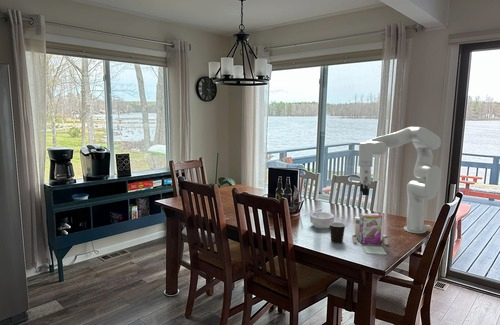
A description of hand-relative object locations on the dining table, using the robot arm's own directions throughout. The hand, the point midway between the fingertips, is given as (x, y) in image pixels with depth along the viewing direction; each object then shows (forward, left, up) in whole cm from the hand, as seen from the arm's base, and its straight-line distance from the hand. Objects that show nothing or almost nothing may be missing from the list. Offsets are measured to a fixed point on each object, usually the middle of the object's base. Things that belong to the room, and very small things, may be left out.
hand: (364, 193), depth 194 cm
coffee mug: (+16, +7, -28) cm, 33 cm away
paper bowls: (+22, -21, -28) cm, 41 cm away
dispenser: (-3, +2, -27) cm, 28 cm away
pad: (-3, +18, -27) cm, 33 cm away
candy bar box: (-3, +5, -28) cm, 28 cm away
